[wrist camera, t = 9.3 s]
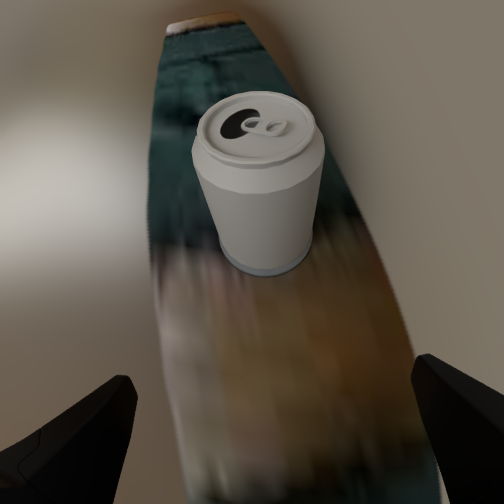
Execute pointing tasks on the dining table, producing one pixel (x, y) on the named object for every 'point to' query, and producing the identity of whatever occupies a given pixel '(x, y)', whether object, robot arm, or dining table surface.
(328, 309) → the dining table surface
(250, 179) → the can
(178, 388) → the dining table surface
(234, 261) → the coaster
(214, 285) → the dining table surface
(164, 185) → the dining table surface
